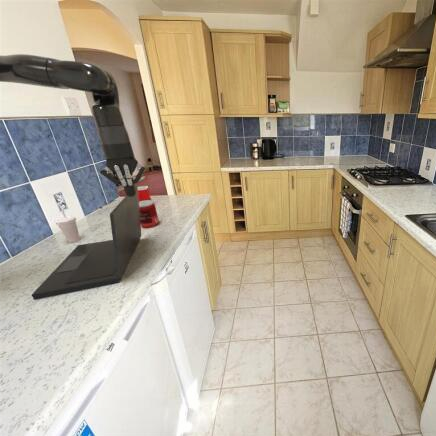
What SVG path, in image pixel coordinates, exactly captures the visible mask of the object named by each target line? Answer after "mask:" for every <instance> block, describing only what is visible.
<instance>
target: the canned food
mask: <svg viewBox="0 0 436 436" xmlns="http://www.w3.org/2000/svg"><path fill="white" fill-rule="evenodd" d="M139 212H140V224H141V228H143V229H150V228H151V229H152V228H154V227H157V226H159V224H160V219H159V215H158V212H157V207H156V204H155V201H154V200H153V199H151V200H145V201H140V202H139Z"/></svg>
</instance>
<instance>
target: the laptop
mask: <svg viewBox="0 0 436 436" xmlns="http://www.w3.org/2000/svg"><path fill="white" fill-rule="evenodd" d="M140 241H141V239H140V240H139V242H138V244H137V246H136V248H135V250H134V252H133V254H132V256H131V258H130V260H129V262H128V264H127V266H126V268H125V270H124V272H123V274H122V276H121V278H118V275H117V267H116V260H115V252H114V244H113V239H109V240H103V241H95V242H90V243H84V244H78V245H77V246H75V248H74V249H73V250H72V251H71V252H70V253H69V254H68V255H67V256H66V257H65V258H64V260H63V261H61V263H60V264H59V265H58V266H57V267H56V268H55V269H54V270H53V271H52V272H51V273H50V274H49V275H48V276H47V278H46V279H45V280H44V281H43V282H42V283H40V284H39V286H38V287H37V288H36V289H35V291H33V292H32V294H31V297H32V299H33V301H35V300H36V301H37V300H41V299H45V298H51V297H55V296H60V295H65V294H70V293H74V292H79V291H85V290H90V289H96V288H100V287H106V286H110V285H115V284H119V283H120V282H121V280H122V278H123V275H124V274H125V272H126V269H127V268H128V266H129V263H130V262H131V259H132V257H133V255H134V253H135V251H136V249H137V247H138V245H139V243H140Z"/></svg>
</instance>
